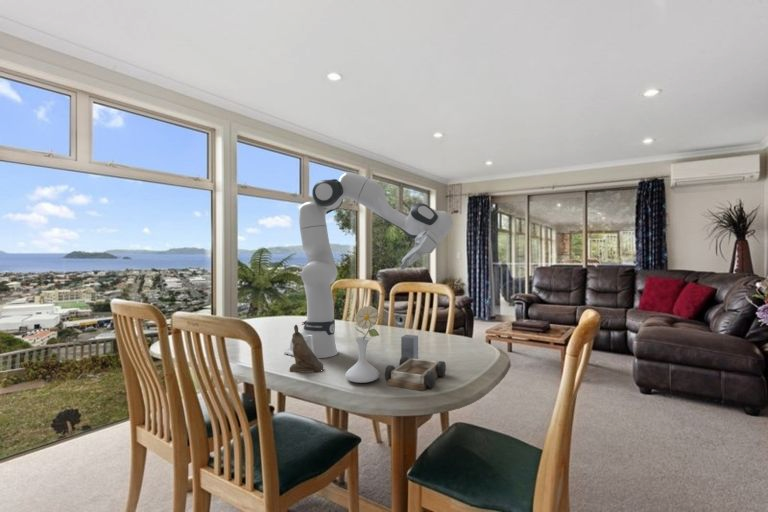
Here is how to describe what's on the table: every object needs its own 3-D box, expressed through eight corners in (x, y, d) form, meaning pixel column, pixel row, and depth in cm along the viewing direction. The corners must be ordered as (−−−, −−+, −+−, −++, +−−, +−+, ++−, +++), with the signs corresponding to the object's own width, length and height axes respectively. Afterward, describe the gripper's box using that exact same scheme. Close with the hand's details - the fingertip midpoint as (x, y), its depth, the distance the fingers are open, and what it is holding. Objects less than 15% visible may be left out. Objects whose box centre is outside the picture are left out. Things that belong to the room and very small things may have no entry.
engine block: (401, 363, 144) (401, 337, 144) (406, 359, 149) (406, 334, 148) (413, 364, 142) (413, 338, 142) (418, 361, 146) (418, 335, 146)
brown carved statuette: (289, 378, 133) (278, 329, 133) (294, 373, 139) (284, 326, 139) (321, 372, 132) (311, 322, 132) (325, 367, 138) (315, 319, 138)
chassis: (382, 384, 120) (382, 368, 120) (406, 367, 138) (406, 353, 138) (428, 391, 114) (428, 375, 114) (446, 373, 132) (446, 358, 132)
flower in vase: (337, 380, 124) (338, 304, 124) (362, 372, 132) (362, 301, 132) (366, 390, 115) (366, 308, 115) (390, 380, 124) (390, 304, 124)
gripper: (410, 244, 161) (390, 267, 155) (430, 229, 142) (409, 253, 136) (421, 255, 161) (401, 277, 155) (442, 240, 142) (421, 265, 137)
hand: (405, 266), depth 146 cm, fingers open, 8 cm apart
